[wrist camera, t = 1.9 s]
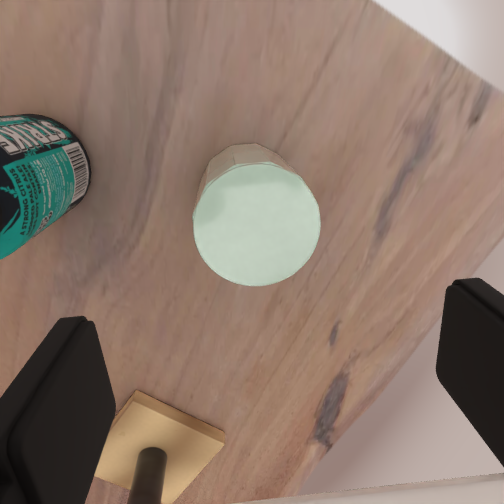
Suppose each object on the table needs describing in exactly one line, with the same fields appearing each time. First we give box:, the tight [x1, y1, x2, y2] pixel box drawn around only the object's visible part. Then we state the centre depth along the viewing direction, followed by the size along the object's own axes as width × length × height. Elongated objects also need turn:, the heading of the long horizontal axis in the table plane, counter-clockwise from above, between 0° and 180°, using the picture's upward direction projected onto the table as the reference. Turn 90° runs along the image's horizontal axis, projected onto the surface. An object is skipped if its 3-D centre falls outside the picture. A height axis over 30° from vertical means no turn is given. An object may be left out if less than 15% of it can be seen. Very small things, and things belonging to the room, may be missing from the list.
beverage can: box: [0, 114, 91, 259], centre depth 23 cm, size 7×7×12 cm
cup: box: [192, 143, 321, 286], centre depth 26 cm, size 7×7×10 cm
